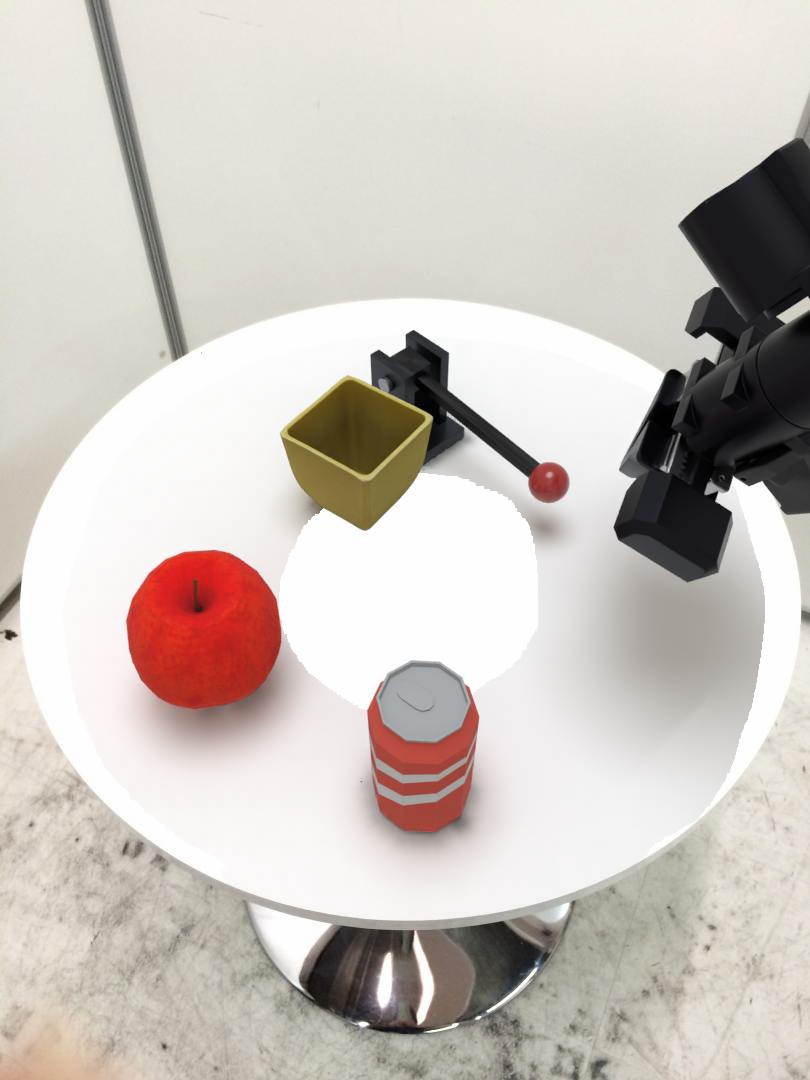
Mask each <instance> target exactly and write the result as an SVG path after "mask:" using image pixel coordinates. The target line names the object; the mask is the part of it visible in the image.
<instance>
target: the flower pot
mask: <svg viewBox="0 0 810 1080" xmlns="http://www.w3.org/2000/svg"><path fill="white" fill-rule="evenodd" d="M432 421H433V417H432V416H431V415H430V414H428V413H427V412H425V411H423V410H421V409H419V408H417V407H415V406H413V405H411V404H409V403H407V402H405V401H403V400H401V399H399V398H397V397H395V396H392V395H390V394H388V393H386V392H384V391H382V390H380V389H378V388H376V387H374V386H372V384H369V383H368V382H366V381H364V380H362V379H360V378H357V377H355V376H352V375H347V374H346V375H345V376H343V377H342V378H341V379H339V380H338V381H337V382H336V383H335V384H333V385H332V386H331V387H330V388H329V389H327V391H326V392H324V393H323V394H321V396H320V397H318V398H317V399H316V400H315V401H314V402H312V403H311V404H310V405H309V406H308V407H306V408H305V409H304V410H303V411H301V412H300V413H299V414H298V415H296V416H295V417H294V418H293V419H292V420H291V421H289V422H288V423H287V424H286V425H285V426H284V427H283V428H282V429H281V430H280V432H279V436H280V439H281V442H282V444H283V445H282V446H283V447H284V451H285V454H286V457H287V460H288V463H289V466H290V470H291V473H292V475H293V477H294V479H295V481H296V483H297V484H298V486H299V487H300V488H301V490H302V491H303V492H304V493H305V494H306V495H307V496H308V497H309V498H310V499H311V500H312V501H314V502H315V503H316V504H317V505H318V506H320V507H321V508H323V509H324V510H326V511H328V512H330V513H331V514H333V515H335V516H337V517H338V518H340V519H342V520H344V521H345V522H347V523H349V524H351V525H352V526H354V527H356V528H357V529H359V530H361V531H363V532H365V531H366V532H367V531H369V530H370V529H372V528H373V527H374V525H376V524H377V523H378V522H379V521H380V520H381V518H383V517H384V516H385V515H386V514H387V512H389V510H390V509H392V508H393V506H395V504H397V503H398V502H399V501H400V500H401V498H402V497H403V496H404V495H405V494H406V492H408V490H410V488H411V487H412V485H413V484H414V482H415V481H416V479H417V478H418V476H419V474H420V472H421V470H422V468H423V465H424V464H423V462H424V459H425V455H426V450H427V446H428V441H429V436H430V431H431V426H432Z"/></svg>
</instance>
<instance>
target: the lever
mask: <svg viewBox="0 0 810 1080" xmlns="http://www.w3.org/2000/svg"><path fill="white" fill-rule="evenodd" d="M390 357H391V358H392V359H394V360H395V361H396V362H398V363H399V364H401V365H402V366H404V367H405V368H407V369H408V370H410V371H411V372H412V373H414V393H415V392H416V391H418V390H421V391H422V392H424V393H425V394H426V395H427V396H428V397H430V398H431V399H432V400H433V401H435V402H436V403H437V404H438V405H439V406H441V407H442V408H443V409H444V410H446V411H447V414H449V415H450V416H451V417H453V418H454V419H455V420H457V421H458V422H459V424H461V425H462V426H463V427H464V428H466V429H468V430H469V431H470V432H471V433H473V434H474V435H475V436H476V437H477V438H478V439H480V440H481V441H482V442H483V443H485V444H486V445H487V446H488V447H490V448H491V449H492V450H493V451H494V452H496V453H497V454H498V455H499V456H501V457H502V458H503V459H504V460H506V461H507V462H508V463H509V464H511V465H512V466H513V467H514V468H516V469H517V470H518V471H519V472H521V473H522V474H523V475H524V476H525V477H526V478H527V479H528V480H527V485H528V486H527V487H528V491H529V493H530V494H531V495H532V496H533V498H534V499H535V500H537V501H539V502H540V503H545V504H554V503H557V502H559V501H561V500H562V499H563V498H564V497H565V496H566V495H567V493H568V492H569V489H570V484H571V482H570V480H571V479H570V476H569V473H568V472H567V469H566V468H564V467H563V465H561V464H559V463H557V462H553V461H546V462H542V463H540V462H539V461H538V460H536V459H535V458H534V457H532V455H530V454H529V453H528V452H527V451H525V450H524V449H522V448H521V447H520V446H519V445H517V443H515V442H514V441H512V439H510V438H509V437H507V436H506V435H505V434H504V433H502V432H501V431H500V430H499V429H497V427H495V426H494V425H492V424H491V423H490V422H489V421H488V420H486V419H485V418H484V417H483V416H482V415H480V414H479V413H478V412H476V411H475V410H474V409H473V408H472V407H470V406H469V405H468V404H466V402H464V401H463V400H461V399H460V398H459V397H458V396H456V395H455V394H453V392H451V391H450V390H449V389H448V390H447V389H446V388H445V387H444V386H442V385H441V384H440V383H439V382H437V381H436V380H435V379H434V378H432V377H431V376H430V371H431V363H430V362H429V361H428V360H426V359H425V358H424V357H423V356H421V355H420V354H419V353H418V352H416V351H415V350H414V349H413V348H411V347H410V346H408V347H406V346H405V348H403V349H401V350H400V351H399V350H398V352H396V353H393V354H392V355H391V356H390Z"/></svg>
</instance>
